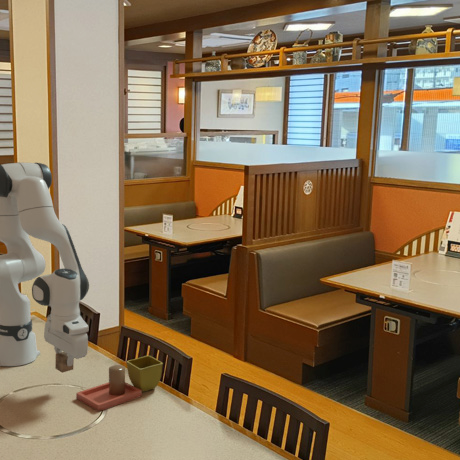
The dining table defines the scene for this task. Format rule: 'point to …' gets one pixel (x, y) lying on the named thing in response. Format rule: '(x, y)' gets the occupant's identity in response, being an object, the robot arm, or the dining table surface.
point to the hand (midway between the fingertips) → (64, 362)
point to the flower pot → (144, 372)
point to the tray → (106, 396)
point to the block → (62, 362)
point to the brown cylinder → (116, 380)
